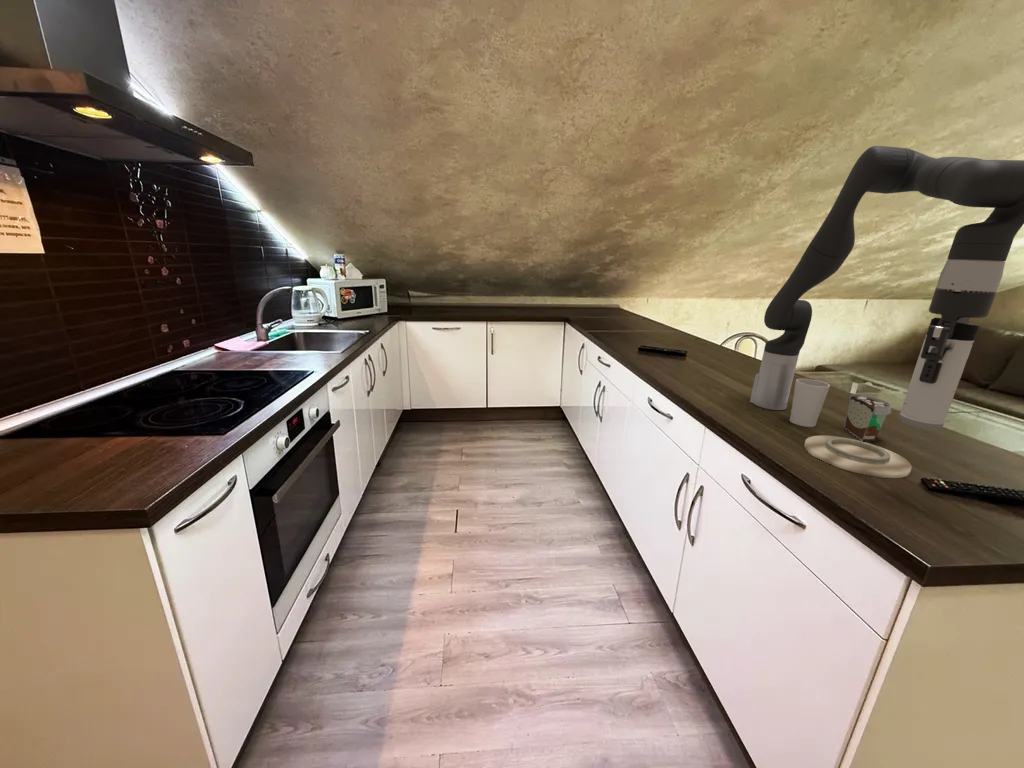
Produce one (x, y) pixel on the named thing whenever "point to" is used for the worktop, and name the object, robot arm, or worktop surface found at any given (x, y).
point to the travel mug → (937, 382)
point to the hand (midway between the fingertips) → (934, 380)
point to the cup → (808, 401)
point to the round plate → (858, 456)
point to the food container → (866, 416)
